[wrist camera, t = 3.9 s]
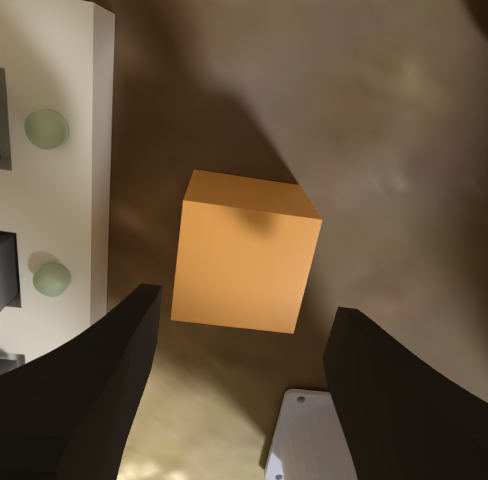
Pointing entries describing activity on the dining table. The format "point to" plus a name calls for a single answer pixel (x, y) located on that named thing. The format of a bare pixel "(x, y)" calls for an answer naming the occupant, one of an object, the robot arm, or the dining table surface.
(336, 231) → the dining table surface
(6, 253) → the block
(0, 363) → the block
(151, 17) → the dining table surface
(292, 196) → the tan orange cube
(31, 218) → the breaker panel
